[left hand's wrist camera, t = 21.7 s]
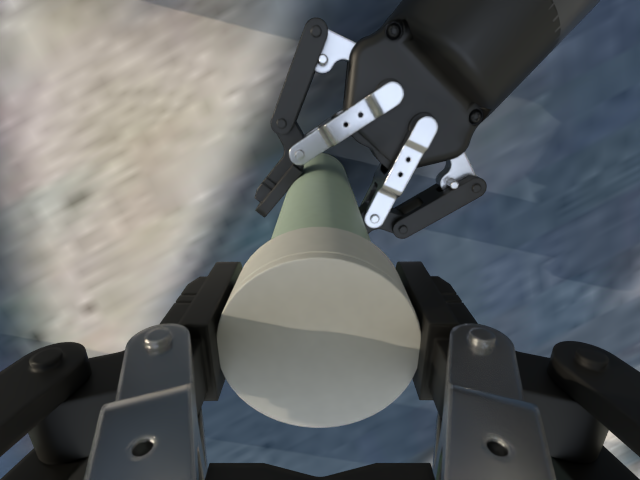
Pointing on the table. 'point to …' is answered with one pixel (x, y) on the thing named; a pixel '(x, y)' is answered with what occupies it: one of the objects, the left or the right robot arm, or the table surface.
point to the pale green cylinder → (321, 200)
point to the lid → (318, 329)
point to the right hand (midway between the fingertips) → (292, 233)
